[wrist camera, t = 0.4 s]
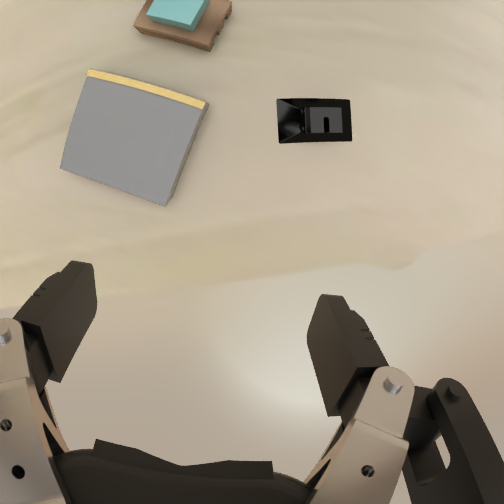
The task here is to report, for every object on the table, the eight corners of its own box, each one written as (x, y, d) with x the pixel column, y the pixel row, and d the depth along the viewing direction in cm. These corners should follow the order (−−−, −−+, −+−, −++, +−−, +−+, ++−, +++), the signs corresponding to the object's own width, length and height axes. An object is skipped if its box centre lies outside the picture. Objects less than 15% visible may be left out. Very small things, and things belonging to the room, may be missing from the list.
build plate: (265, 150, 34) (269, 154, 30) (260, 91, 31) (264, 86, 27) (362, 147, 34) (378, 152, 30) (360, 91, 31) (376, 89, 27)
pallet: (163, -6, 24) (157, -17, 21) (231, 11, 26) (231, 1, 23) (141, 33, 26) (132, 25, 23) (210, 52, 28) (207, 44, 25)
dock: (104, 72, 28) (89, 68, 24) (209, 104, 31) (205, 101, 27) (75, 162, 32) (58, 168, 28) (171, 197, 35) (164, 207, 31)
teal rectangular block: (167, -8, 22) (163, -16, 19) (209, 2, 23) (207, -6, 21) (151, 21, 23) (146, 14, 21) (193, 31, 24) (190, 25, 22)
